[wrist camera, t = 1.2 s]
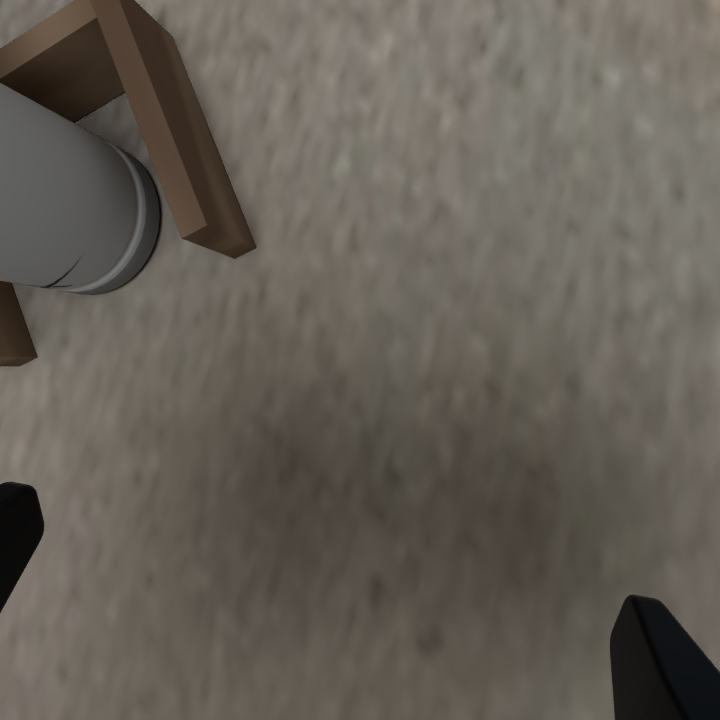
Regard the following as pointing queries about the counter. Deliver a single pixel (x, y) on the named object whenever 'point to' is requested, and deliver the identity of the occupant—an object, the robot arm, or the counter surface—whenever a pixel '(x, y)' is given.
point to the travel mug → (69, 203)
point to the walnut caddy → (152, 112)
